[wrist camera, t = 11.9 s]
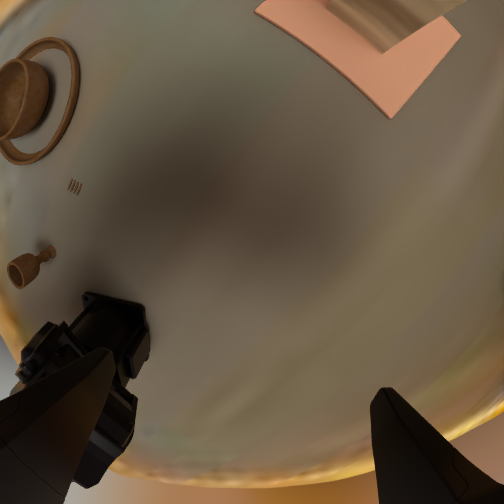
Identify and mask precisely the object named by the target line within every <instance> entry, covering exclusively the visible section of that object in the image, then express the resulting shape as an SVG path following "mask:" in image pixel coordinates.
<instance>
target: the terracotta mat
mask: <svg viewBox="0 0 504 504" xmlns="http://www.w3.org/2000/svg"><path fill="white" fill-rule="evenodd" d="M329 2H330V0H266V1H264V2H263V3H262V4H261V5H260V6H259V7H258V8H257V9H255V10H254V12H255V13H256V14H258V15H259V16H261V17H263V18H264V19H266V20H268V21H269V22H271V23H273V24H274V25H276V26H277V27H279V28H280V29H282V30H283V31H285V32H286V33H288V34H289V35H291V36H292V37H294V38H295V39H297V40H298V41H300V42H301V43H302V44H304V45H305V46H307V47H308V48H309V49H311V50H312V51H313V52H315V53H316V54H317V55H319V56H320V57H321V58H322V59H324V60H325V61H326V62H327V63H329V64H330V65H331V66H332V67H334V68H335V69H336V70H337V71H338V72H340V73H341V74H342V75H343V76H344V77H345V78H347V79H348V80H349V81H350V82H351V83H352V84H353V85H355V86H356V87H357V88H358V89H359V90H360V91H361V92H362V93H363V94H364V95H365V96H366V97H367V98H368V99H370V100H371V101H372V102H373V103H374V104H375V105H376V106H377V107H378V108H379V109H380V110H381V111H382V112H383V113H384V114H385V116H386V117H387V118H388V119H391V118H392V117H393V116H394V115H395V114H396V113H397V112H398V110H399V109H400V108H401V107H402V106H403V105H404V103H405V102H406V101H407V100H408V99H409V97H410V96H411V95H412V94H413V93H414V92H415V90H416V89H417V88H418V87H419V86H420V85H421V83H422V82H423V81H424V80H425V79H426V77H427V76H428V75H429V74H430V73H431V72H432V70H433V69H434V68H435V67H436V66H437V64H438V63H439V62H440V61H441V60H442V58H443V57H444V56H445V55H446V54H447V52H448V51H449V50H450V49H451V47H452V46H453V45H454V44H455V43H456V41H457V40H458V39H459V38H460V37H461V35H460V34H459V33H458V32H457V31H456V30H455V29H454V27H453V26H452V25H451V24H450V23H449V22H448V21H447V20H446V19H445V18H444V17H443V16H442V15H441V16H440V17H438V18H436V19H435V20H433V21H432V22H430V23H428V24H427V25H425V26H424V27H422V28H420V29H419V30H417V31H416V32H414V33H413V34H411V35H410V36H408V37H407V38H405V39H404V40H402V41H401V42H399V43H398V44H396V45H395V46H393V47H392V48H390V49H389V50H388V51H386V52H385V53H383V54H381V53H380V52H379V51H378V50H377V49H375V48H374V47H373V46H372V45H371V44H370V43H369V42H367V41H366V40H365V39H364V38H363V37H361V36H360V35H359V34H358V33H357V32H355V31H354V30H353V29H352V28H350V27H349V26H348V25H346V24H345V23H344V22H342V21H341V20H340V19H338V18H337V17H336V16H334V15H333V14H332V13H330V12H329V11H327V10H326V9H327V6H328V4H329Z"/></svg>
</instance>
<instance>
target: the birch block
mask: <svg viewBox="0 0 504 504" xmlns="http://www.w3.org/2000/svg"><path fill="white" fill-rule="evenodd" d="M466 1H468V0H330V2H329V4H328V6H327V9H326V10H327V11H329V12H330V13H332V14H333V15H334V16H336V17H337V18H338V19H340V20H341V21H342V22H344V23H345V24H346V25H348V26H349V27H350V28H352V29H353V30H354V31H355V32H357V33H358V34H359V35H360V36H361V37H363V38H364V39H365V40H366V41H367V42H369V43H370V44H371V45H372V46H373V47H374V48H375V49H377V50H378V51H379V52H380V53H381V54H383V53H385V52H386V51H388V50H389V49H390V48H392V47H393V46H395V45H396V44H398V43H399V42H401V41H402V40H404V39H405V38H407V37H408V36H410V35H411V34H413V33H414V32H416V31H417V30H419V29H420V28H422V27H424V26H425V25H427V24H428V23H430V22H432V21H433V20H435V19H436V18H438V17H440V16H441V15H443V14H445V13H447V12H448V11H450V10H452V9H453V8H455V7H457V6H459V5H460V4H462V3H464V2H466Z"/></svg>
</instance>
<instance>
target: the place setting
mask: <svg viewBox="0 0 504 504" xmlns="http://www.w3.org/2000/svg"><path fill="white" fill-rule="evenodd" d="M51 48H56V49H60V50H62V51H64V52H65V53H66V54H67V55H68V56H69V59H70V63H71V70H72V79H71V89H70V95H69V99H68V103H67V107H66V110H65V113H64V116H63V118H62V121H61V123H60V125H59V127H58V129H57V131H56V133H55V135H54V136H53V138H52V140H51V141H50V142H49V144H48V145H47V146H46V147H45V148H44V149H43V150H41V151H39V152H37V153H33V154H25V153H22V152H20V151H19V150H17V149H16V148H15V147H14V145H13V144H12V143H11V141H10V139H14V138H18V137H21V136H23V135H25V134H26V133H28V132H29V131H30V130H31V129H32V128H33V127H34V126H35V125H36V124H37V122H38V121H39V119H40V117H41V115H42V113H43V111H44V109H45V107H46V104H47V100H48V94H49V81H48V76H47V74H46V71H45V70H44V68H43V67H42V66H41V65H39V64H37V63H35V62H32V61H29V60H30V59H31V58H32V57H33V56H35V55H36V54H38V53H39V52H41V51H43V50H46V49H51ZM78 90H79V66H78V61H77V58H76V55H75V53H74V51H73V50H72V48H71V47H70V46H69V45H68V44H67V43H66V42H64V41H62V40H60V39H58V38H54V37H47V38H43V39H40V40H37V41H35V42H34V43H32V44H30V45H29V46H28V47H26V48H25V49H24V50H23V51H22V52H21V53H20V54H19V55H18V56H17V57H16V59H12V60H10V61H8V62H7V63H5V64H4V65H3V66H2V67H1V68H0V152H1V153H2V155H3V156H4V157H5V158H6V159H7V160H8V161H9V162H11V163H13V164H15V165H27V164H31V163H33V162H36V161H38V160H39V159H41V158H42V157H44V156H45V155H46V154H47V153H48V152H50V151H51V149H52V148H53V147H54V146H55V145H56V144H57V142H58V141H59V139H60V138H61V136H62V135H63V133H64V131H65V130H66V128H67V126H68V124H69V121H70V119H71V116H72V114H73V111H74V108H75V104H76V100H77V96H78ZM75 181H76V180H74V183H73V185H72V188H71V191H72V189H73V187H74V185H75ZM71 183H72V179H71V181H70V184H69V186H68V189H69V187H70V185H71ZM78 184H79V182H77V185H76V187H75V190H74V193H75V191H76V189H77V186H78ZM81 186H82V183H81V184H80V187H79V189H78V192H77V195H78V193H79V191H80V189H81ZM55 256H56V251H55V249H54V247H53V246H48V248H47V250H43V251H41V253H40V254H39V255H38V256H36V257H35V256H34V255H33V254H30V253H27V254H23V255H21V256H19V257H17V258H16V259H14V260H12V261H11V262H10V263H9V264H8V266H7V272H8V276H9V278H10V280H11V282H12V284H13V285H14V286H15V287H16V288H18V289H22V288H24V287H25V286H27V285H28V284H29V283H30V282H32V281H33V280H34V279H35V278H36V277H37V275H38V273H39V270H40V264H41V263H42V262H47V261H48V260H49V258H50V257H52V258H54V257H55Z"/></svg>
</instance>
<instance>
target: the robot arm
mask: <svg viewBox="0 0 504 504" xmlns="http://www.w3.org/2000/svg"><path fill="white" fill-rule="evenodd" d="M87 297H88V298H87ZM82 299H83V305H84V311H83V312H82V313H81V314H80V315H79V316H78V317H77V318H76V319H75V320H74V322H73V323H72V324H71V325H70V326H69V327H68V325H67V324H66V323H65V321H63V322H62V323H60V324H59V325H57V324H53V323H51V322H49V321H48V322H47V323H46V324H45V325H44V326H43V327H42V328H41V329H40V330H39V331H38V332H37V333H36V334H35V335H34V336H33V337H32V339H31V340H30V341H29V342H28V343H27V345H26V346H25V347H24V348H23V349H22V351H21V362H20V364H19V368H18V370H17V371H16V373H15V375H16V376H17V377H18V378H19V379H20V381H19V382H18V383H17V384H16V385H15V387H14V388H13V389H12V390H11V393H10V396H9V397H7V398H5V399H3V400H1V401H0V504H63V503H64V501H65V497H66V495H67V492H68V489H69V487H70V484H71V482H76V483H77V484H79V485H80V486H82V487H84V488H86V489H88V488H90V487H92V486H94V485H96V484H98V483H99V482H100V480H101V478H102V476H103V475H104V473H105V472H106V470H107V469H108V467H109V466H110V465H111V464H112V462H113V461H114V460H115V459H116V458H117V457H118V456H120V455H121V454H122V453H123V452H124V451H125V449H126V447H127V446H128V445H129V443H130V441H131V440H132V437H133V434H134V426H135V418H136V410H137V402H138V398H137V397H136V396H135V395H134V394H131V393H130V392H129V391H128V390H127V389H126V388H125V387H126V385H127V383H128V381H129V379H130V378H131V379H135V378H136V377H137V375H138V373H139V371H140V369H141V367H142V365H143V363H144V361H147V360H148V358H149V352H150V340H149V330H148V328H147V327H146V318H145V309H144V307H143V306H142V305H139V304H135V303H131V302H126V301H122V300H118V299H114V298H110V297H106V296H102V295H98V294H94V293H90V292H85V293H84V294H83V295H82ZM137 309H138V310H140V312H139V311H138V310H137ZM370 417H371V438H372V449H373V456H374V463H375V471H376V479H377V487H378V497H379V504H504V485H503V484H500V483H498V482H496V481H495V480H493V479H492V478H490V477H489V476H488V475H487V474H485V473H484V472H482V471H481V470H480V469H479V468H477V467H476V466H475V465H474V464H472V463H471V462H470V461H469V460H467V459H466V458H465V457H464V456H463V455H462V454H461V453H460V452H459V451H458V450H457V449H456V448H455V447H453V446H452V445H451V444H450V443H449V442H448V441H447V440H446V439H445V438H444V437H443V436H442V435H441V434H440V433H439V432H438V431H437V430H436V429H435V428H434V427H433V426H432V425H431V424H430V423H428V422H427V421H426V420H425V419H424V418H423V417H422V416H421V415H420V414H419V413H418V412H417V411H416V410H415V409H414V408H413V407H412V406H411V405H410V404H409V403H408V402H407V401H406V400H405V399H403V398H402V397H401V396H400V395H399V394H398V393H397V392H396V391H395V390H394V389H393V388H391V387H383V388H381V389H379V391H378V392H377V394H376V395H375V397H374V399H373V400H372V402H371V404H370Z"/></svg>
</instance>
